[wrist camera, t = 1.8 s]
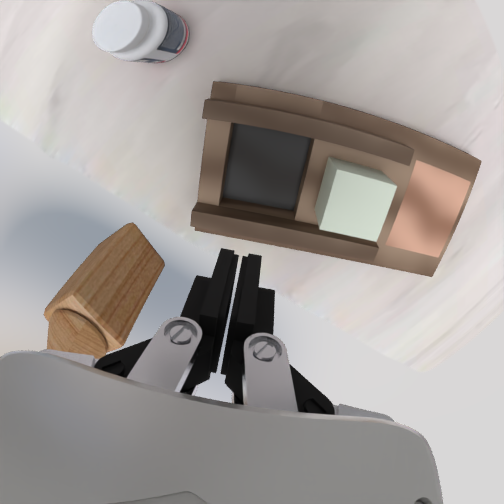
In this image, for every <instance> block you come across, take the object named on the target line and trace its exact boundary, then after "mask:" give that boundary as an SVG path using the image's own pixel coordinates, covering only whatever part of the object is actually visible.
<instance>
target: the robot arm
mask: <svg viewBox="0 0 504 504" xmlns="http://www.w3.org/2000/svg"><path fill="white" fill-rule="evenodd" d="M238 257H239V255H235V254H234V251H233V250H228V249H223V248H221V250H220V253H219V256H218V259H217V263H216V266H215V269H214V272H213V275H212V278H207V277H203V276H198V275H197V276H196V278H195V280H194V282H193V285H192V288H191V290H190V293H189V295H188V298H187V301H186V303H185V305H184V308H183V311H182V313H181V316H180V317H174V318H170V319H168V320H166V321H165V322H164V323H163V324H162V325H161V326H160V328H159V329H158V331H157V332H156V334H155V335H154V337H153V338H151V339H149V340H146V341H143V342H141V343H138V344H135V345H133V346H130V347H127V348H124V349H122V350H119V351H116V352H113V353H110V354H108V355H105V356H103V357H101V358H100V359H95V358H94V356H93V355H85V354H78V353H71V352H64V351H57V350H51V349H46V350H42V351H40V352H38V351H23V350H21V351H13V352H9V353H6V354H4V355H3V356H1V357H0V504H443V500H442V492H441V486H440V481H439V476H438V471H437V467H436V463H435V459H434V456H433V454H432V451H431V448H430V446H429V444H428V442H427V440H426V439H425V438H424V437H423V436H422V435H421V434H420V433H419V432H417V431H416V430H414V429H412V428H410V427H408V426H405V425H402V424H399V423H396V422H394V420H393V419H392V418H390V417H389V416H387V415H384V414H380V413H376V412H371V411H367V410H363V409H359V408H354V407H351V406H347V405H343V404H339V405H338V406H336V405H333V404H332V403H331V401H329V399H328V398H327V397H326V396H325V395H323V394H322V393H321V392H320V391H319V390H318V389H317V388H316V387H314V386H313V385H312V384H311V383H310V382H309V381H308V380H307V379H305V378H304V377H303V376H302V375H301V374H300V373H299V372H298V371H297V370H296V369H295V368H293V367H292V366H291V365H290V364H289V360H288V355H287V349H286V347H285V344H284V343H283V342H282V341H281V340H280V339H279V338H278V337H276V336H274V335H273V326H274V301H275V300H274V299H275V298H274V297H275V291H274V290H271V289H265V288H259V287H258V286H259V277H260V268H261V258H262V256H259V255H254V254H249V255H248V257H246V256H243V258H242V263H241V268H240V273H239V278H238V283H237V288H236V293H235V298H234V303H233V308H232V313H231V318H230V323H229V328H228V334H227V340H226V345H225V351H224V357H223V363H222V369H221V374H224V375H226V379H225V384H226V385H227V386H228V387H229V388H230V389H231V390H232V403H228V402H222V401H217V400H212V399H207V398H202V397H197V396H195V393H196V391H197V388H198V384H200V383H202V382H204V381H206V380H208V379H209V378H210V373H211V372H213V373H216V371H217V366H218V361H219V357H220V352H221V347H222V342H223V337H224V333H225V328H226V323H227V318H228V313H229V308H230V303H231V297H232V291H233V285H234V280H235V274H236V268H237V263H238Z"/></svg>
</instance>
